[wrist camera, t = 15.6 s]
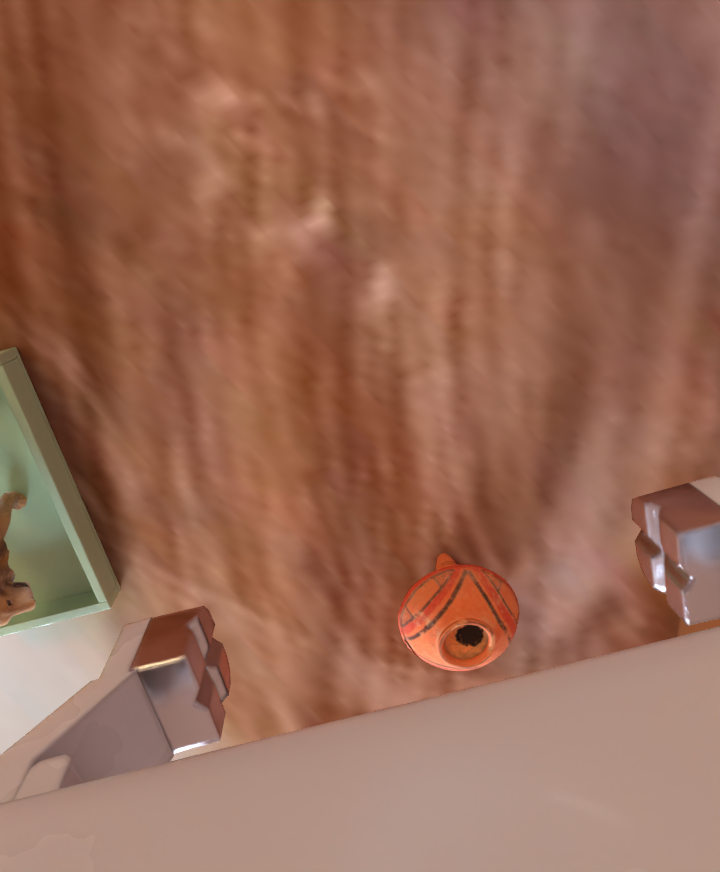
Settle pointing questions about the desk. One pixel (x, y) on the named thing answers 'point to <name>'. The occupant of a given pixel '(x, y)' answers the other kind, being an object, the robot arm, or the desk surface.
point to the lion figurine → (3, 593)
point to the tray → (46, 513)
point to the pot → (459, 616)
